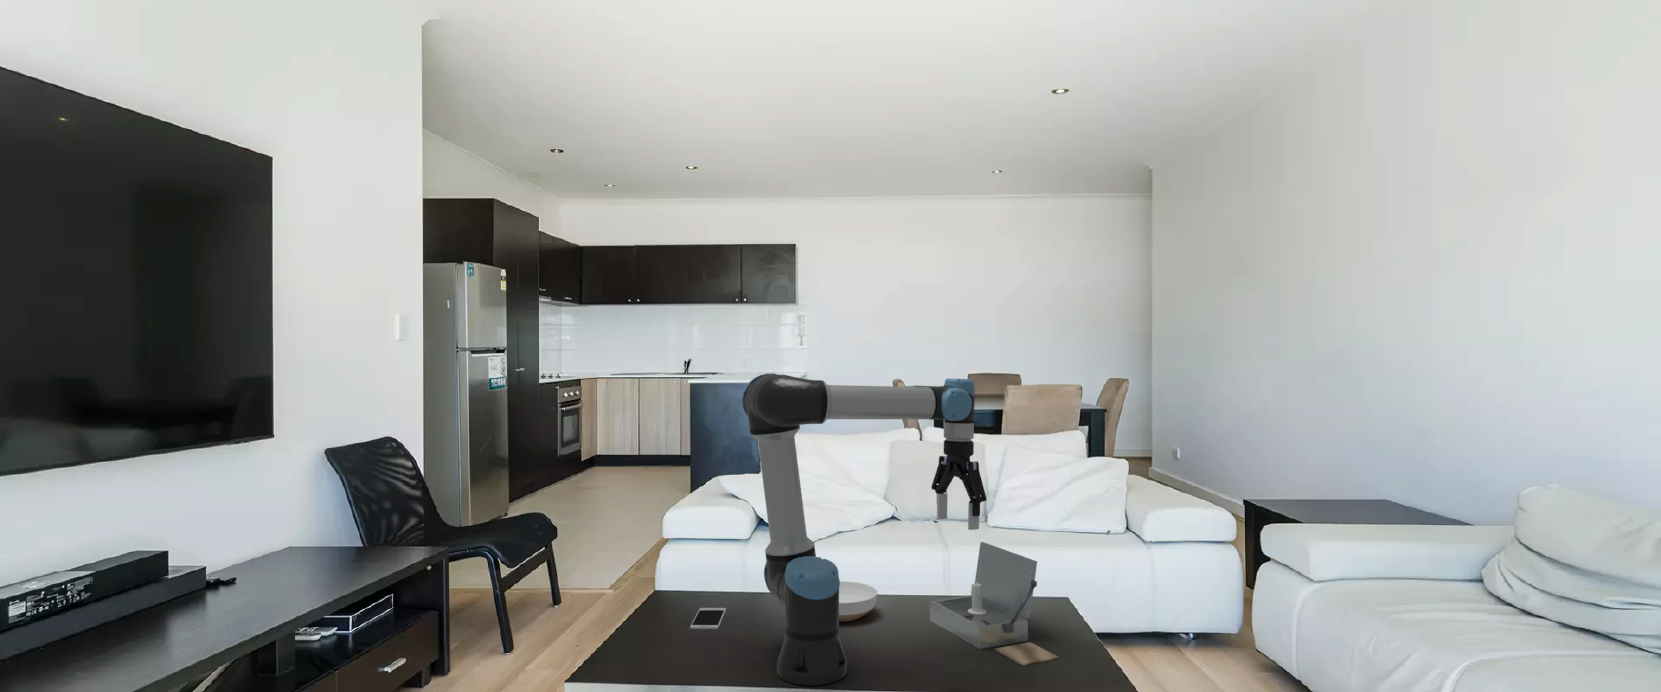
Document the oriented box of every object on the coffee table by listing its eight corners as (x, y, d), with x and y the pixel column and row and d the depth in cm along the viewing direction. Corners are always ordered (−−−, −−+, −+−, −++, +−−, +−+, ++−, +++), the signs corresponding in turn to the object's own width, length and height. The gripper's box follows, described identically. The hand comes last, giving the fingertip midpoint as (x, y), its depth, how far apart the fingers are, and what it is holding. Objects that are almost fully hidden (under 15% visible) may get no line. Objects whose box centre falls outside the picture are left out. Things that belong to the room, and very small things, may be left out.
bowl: (878, 604, 215) (878, 582, 215) (875, 628, 196) (875, 604, 196) (809, 602, 217) (809, 580, 217) (799, 625, 198) (799, 601, 198)
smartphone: (726, 610, 210) (726, 607, 210) (717, 630, 195) (718, 626, 195) (699, 610, 210) (699, 607, 210) (689, 630, 195) (689, 626, 195)
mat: (1022, 665, 172) (1022, 663, 172) (995, 650, 181) (995, 648, 181) (1058, 658, 176) (1058, 656, 176) (1029, 643, 185) (1029, 642, 185)
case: (982, 650, 181) (982, 569, 181) (929, 620, 202) (929, 547, 202) (1040, 640, 188) (1039, 561, 188) (983, 612, 209) (983, 541, 209)
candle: (968, 625, 198) (968, 578, 198) (989, 628, 196) (989, 580, 196) (964, 632, 193) (964, 583, 193) (985, 635, 191) (985, 586, 191)
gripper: (1002, 444, 187) (1000, 532, 186) (943, 434, 209) (941, 514, 208) (976, 444, 183) (975, 535, 183) (919, 435, 206) (917, 515, 205)
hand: (957, 524), depth 196 cm, fingers open, 13 cm apart
